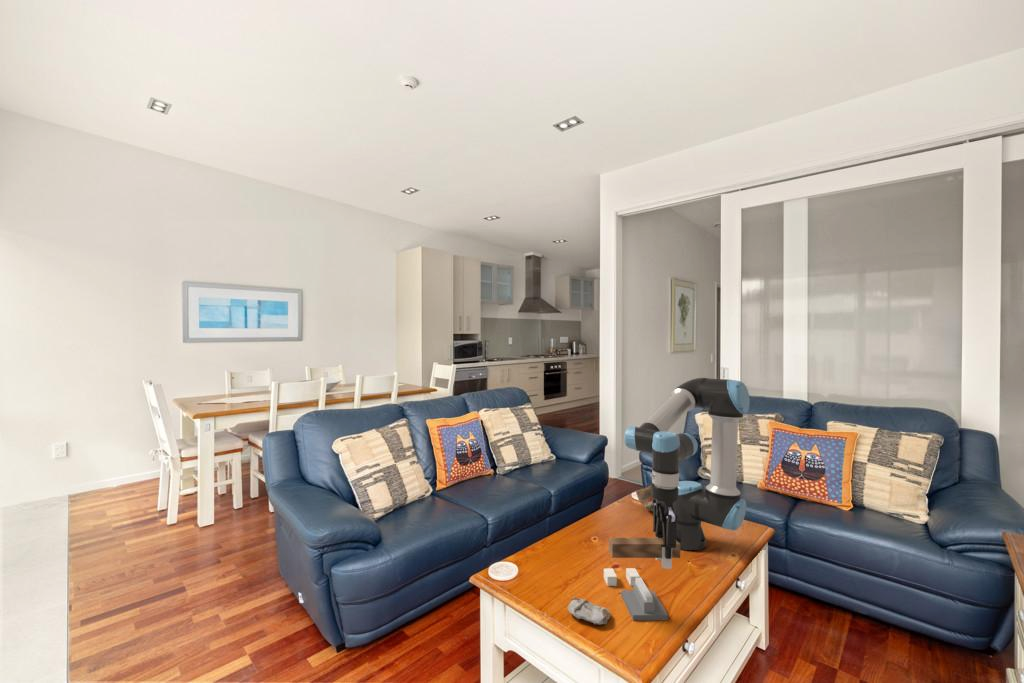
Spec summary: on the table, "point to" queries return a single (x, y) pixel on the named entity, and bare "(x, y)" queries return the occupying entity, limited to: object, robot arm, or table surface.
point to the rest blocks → (612, 578)
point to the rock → (646, 497)
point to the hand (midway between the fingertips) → (663, 563)
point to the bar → (639, 548)
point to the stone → (588, 611)
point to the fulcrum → (643, 603)
